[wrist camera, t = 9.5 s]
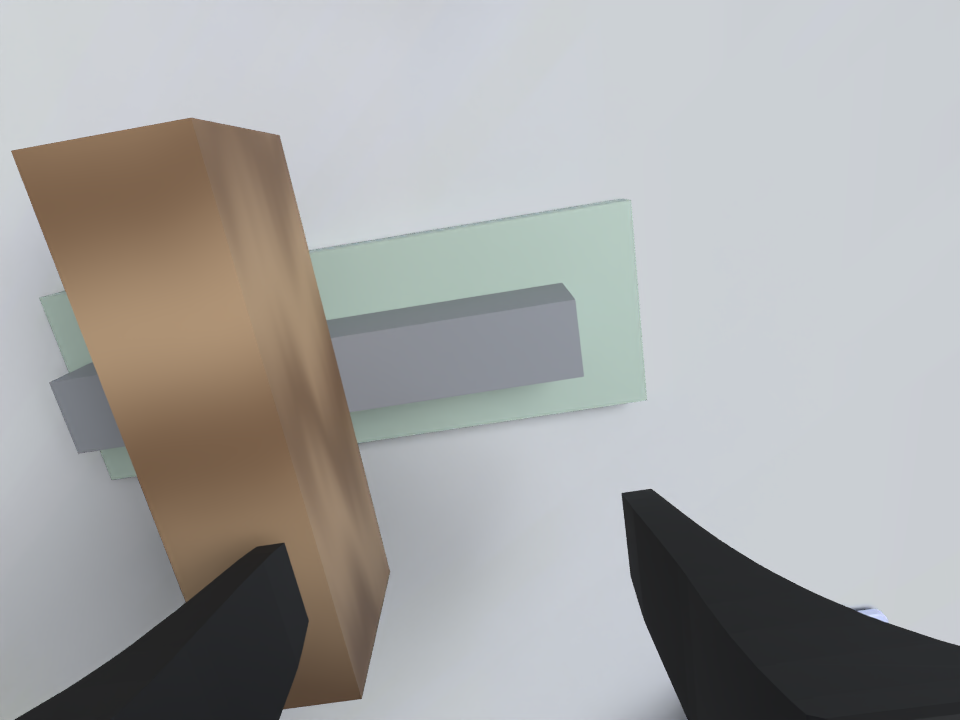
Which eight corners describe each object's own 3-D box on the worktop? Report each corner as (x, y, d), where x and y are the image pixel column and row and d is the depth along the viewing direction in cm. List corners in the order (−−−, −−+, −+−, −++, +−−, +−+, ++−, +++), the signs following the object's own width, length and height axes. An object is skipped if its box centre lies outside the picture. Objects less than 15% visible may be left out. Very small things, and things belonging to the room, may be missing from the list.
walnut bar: (390, 571, 20) (361, 698, 15) (289, 586, 20) (230, 716, 15) (279, 135, 15) (190, 118, 11) (153, 157, 16) (11, 150, 11)
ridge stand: (638, 388, 22) (671, 433, 18) (130, 464, 23) (60, 522, 19) (622, 198, 20) (656, 204, 16) (63, 291, 21) (-30, 317, 17)
